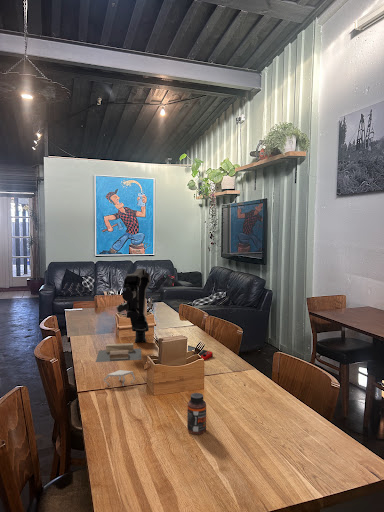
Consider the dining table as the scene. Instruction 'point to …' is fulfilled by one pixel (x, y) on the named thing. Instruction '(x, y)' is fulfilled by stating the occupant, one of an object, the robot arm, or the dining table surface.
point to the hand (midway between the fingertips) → (133, 327)
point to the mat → (106, 357)
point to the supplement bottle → (196, 414)
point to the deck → (119, 354)
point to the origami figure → (120, 373)
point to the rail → (119, 347)
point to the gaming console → (202, 353)
